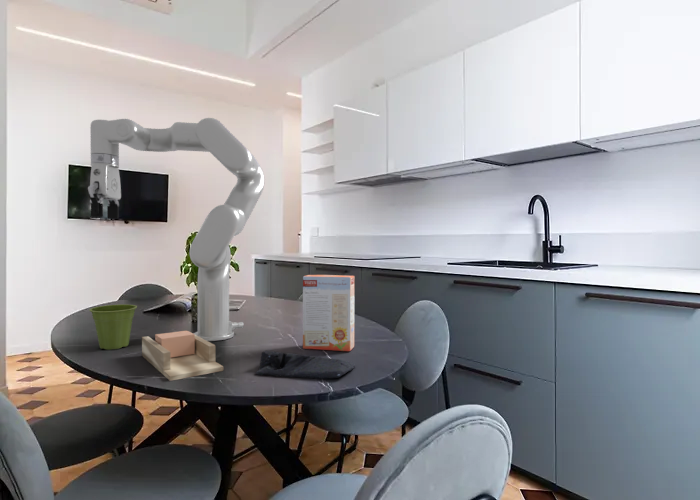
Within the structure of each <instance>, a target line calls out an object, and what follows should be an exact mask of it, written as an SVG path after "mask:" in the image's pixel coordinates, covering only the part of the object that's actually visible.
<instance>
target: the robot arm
mask: <svg viewBox="0 0 700 500" xmlns="http://www.w3.org/2000/svg"><path fill="white" fill-rule="evenodd" d="M89 128H90V166H91V168H90V169H91V170H90V179H89V180H90V182H89V185H88V187H87V190H88V197H89V203H90V217H92V218H103V217H104V204H103V203H102V202H103V201H104V200H106V202H107V207H106V208H107V211H106V212H107V217H106V218H107V219H109V220H110V219H111V220H117V219H119V216H120V215H119V210H120V209H119V207H120V202H121V201H120V200H121V198H122V189H121V187H122V186H121V177H120V170H119V168H120V144H122V145H124V146H127V147H129V148H131V149H133V150H136V151H140V152H156V153H157V152H158V153H160V152H161V153H162V152H163V153H164V152H165V153H166V152H168V153H169V152H175V151H186V152H189V151H190V152H203V153H204V152H205V153H206V152H208V153H210V154H211V155H212V156H213V157H215V159H216V160H217V161H219V163H221V165H222V166H224V167H225V168H226V169H227V170H228V172H230V173H232V175H234V176H235V177H236V179H237V181H236V184H235V185H234V187H233V188H232V190H231V191H230V193H229V195H228V197H227V199H226V200H225V202H224V204H220V205H217V206H215V207H214V208H213V209H211V211H209V212H208V215H206V218H205V219H204V220H203V222H202V224H201V226H200V228H199V230H198V232H197V233H196V235H195V237H194V238H193V241H192V242H191V245H190V248H189V257H190V260H191V262H192V264H194V265H195V267H198V272H197V331H195V332H193V334H195V335H197V336H199V337H201V338H202V339H204V340H206V341H208V342H218V341H222V340H223V341H224V340H228V339H231V338H233V337H234V336H235V331H234V330H236V329H243V328H244V327H245V323H244V322H243V321H240V322H236V321H234V322H233V321H231V320H230V273H231V272H230V271H231V257H232V254H231V249H230V248H231V247H230V244H231V242H232V241H233V238H234V237H236V236H237V235H239V234H241V233H242V231H243V230H244V228H245V226H246V224H247V222H248V221H249V218H250V217H251V215H252V212H253V211H254V209H255V206H256V205H257V203H258V202H259V199H260V198H261V195H262V193H263V190H264V187H265V174H264V171H263V168H262V167H261V164H260V163H259V161H258V160H257V159H256V157H255V155H253V154H252V152H251V150H249V149H248V148H247V147H246V146H245V145H244V144H243V143H242V142H241V141H240V140H239V139H238V138H237V137H236V136H235V135H234V134H232V133H231V132H230V131H229V129H228V128H227V127H226V126H225V125H224V124H223V123H222V122H221V121H220V120H218V119H217V118H213V117H205V118H203V119H201V120H200V121H198V122H197V123H196V122H182V121H177V122H174V123H173V124H172V125H171V126H169V127H167V128H149V127H148V128H147V127H144V126H142V125H140V124H139V123H137V122H136V121H134V120H132V119H130V118H118V119H117V118H116V119H112V120H107V119H94V120H92V121H91V123H90V127H89Z"/></svg>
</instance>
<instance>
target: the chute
mask: <svg viewBox="0 0 700 500" xmlns="http://www.w3.org/2000/svg"><path fill="white" fill-rule="evenodd" d="M141 357H143V358H144V359H145V360H146V361H147V362H148V363H150V364H151V365H152V366H153V367H154V368H155V369H156V370H157V371H158V372H159V373H161V374H162V375H163V376H164V377H165V378H166V379H168V381H170V382H172V381H177V380H182V379H187V378H192V377H193V378H194V377H198V376H202V375H207V374H212V373H213V374H214V373H219V372H223V371H224V366H223V365H222V364H220V363H219V362H216V344H214V343H212V342H211V341H206V340H204V339H202V338H201V337H199V336H197V335H195V354H190V355H184V356H178V357H171V358H170V351H168V350H167V349H165V348H164V347H163V346H161V345H160V344H158V343H157V342H156V341H155V339H152V338H151V337H150V336H141Z"/></svg>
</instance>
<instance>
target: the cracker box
mask: <svg viewBox="0 0 700 500" xmlns="http://www.w3.org/2000/svg"><path fill="white" fill-rule="evenodd" d="M353 348H355V275H341V274H339V275H338V274H336V275H335V274H307V275H304V276H302V349H306V350H321V351H337V352H350V351H352V350H353Z"/></svg>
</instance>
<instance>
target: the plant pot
mask: <svg viewBox="0 0 700 500" xmlns="http://www.w3.org/2000/svg"><path fill="white" fill-rule="evenodd" d="M137 308H138V305H135V304H127V303H126V304H123V303H122V304H120V303H119V304H106V305H100V306H95V307H91V308H89V312H91V316H92V319H93V322H94V325H95V331H96V335H97V341H98V345H99V348H100V349H101V350H103V349H104V350H108V351H109V350H111V351H112V350H118V349H122V347H128V346H129V343H130V338H131V332H132V331H131V330H132V325H133V319H134V316H135V311H136V310H137Z"/></svg>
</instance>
